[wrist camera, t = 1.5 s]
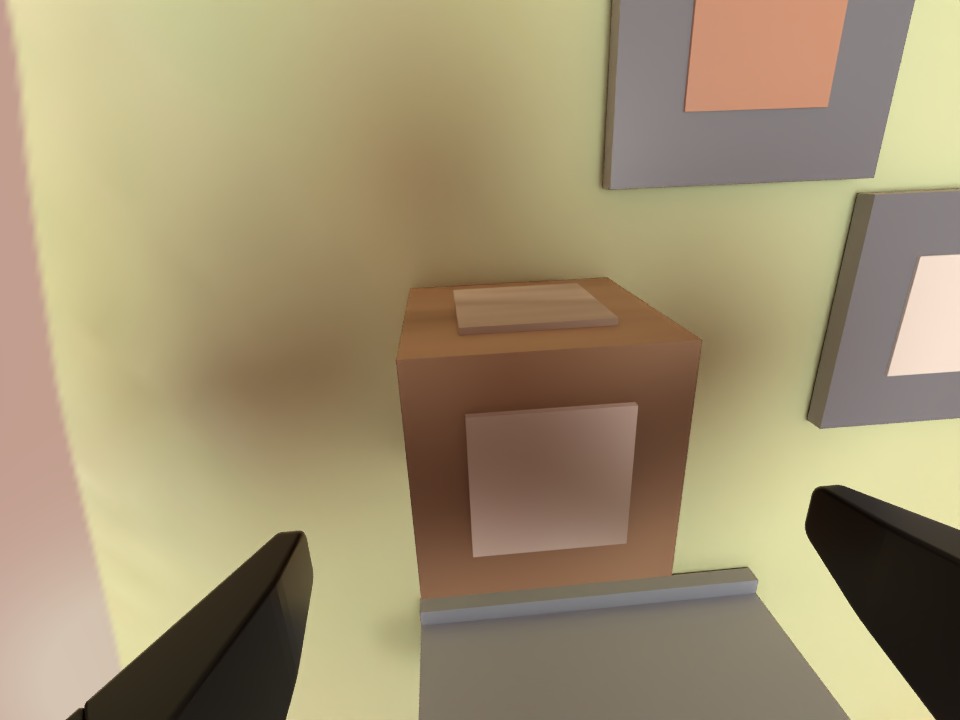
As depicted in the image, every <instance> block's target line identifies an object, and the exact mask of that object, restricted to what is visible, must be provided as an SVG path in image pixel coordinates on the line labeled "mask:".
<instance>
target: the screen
mask: <svg viewBox="0 0 960 720" xmlns="http://www.w3.org/2000/svg"><path fill="white" fill-rule="evenodd" d="M757 584H758V579H757V578H756V576H755V575H754V574H753V573H752V571H751V570H750V569H749V568H740V569H729V570H719V571H708V572H697V573H687V574H676V575H672V576H664V577H653V578H643V579H632V580H622V581H611V582H601V583H590V584H579V585H569V586H558V587H548V588H537V589H527V590H516V591H506V592H495V593H485V594H474V595H464V596H453V597H442V598H432V599H421V600H420V617H421V660H420V694H419V720H850V718H849V717H848V716H847V714H846V713H845V712H844V710H843V709H842V708H841V706H840V705H839V704H838V702H837V701H836V700H835V698H834V697H833V696H832V694H831V693H830V692H829V690H828V689H827V688H826V686H825V685H824V684H823V682H822V681H821V680H820V678H819V677H818V676H817V674H816V673H815V672H814V670H813V669H812V668H811V666H810V665H809V664H808V662H807V661H806V660H805V658H804V657H803V656H802V654H801V653H800V652H799V650H798V649H797V648H796V646H795V645H794V643H793V642H792V641H791V639H790V638H789V637H788V635H787V634H786V633H785V631H784V630H783V629H782V627H781V626H780V625H779V623H778V622H777V621H776V619H775V618H774V617H773V615H772V614H771V613H770V611H769V610H768V609H767V607H766V606H765V605H764V603H763V602H762V601H761V599H760V598H759V597H758V595H757V594H756V589H757Z"/></svg>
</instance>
